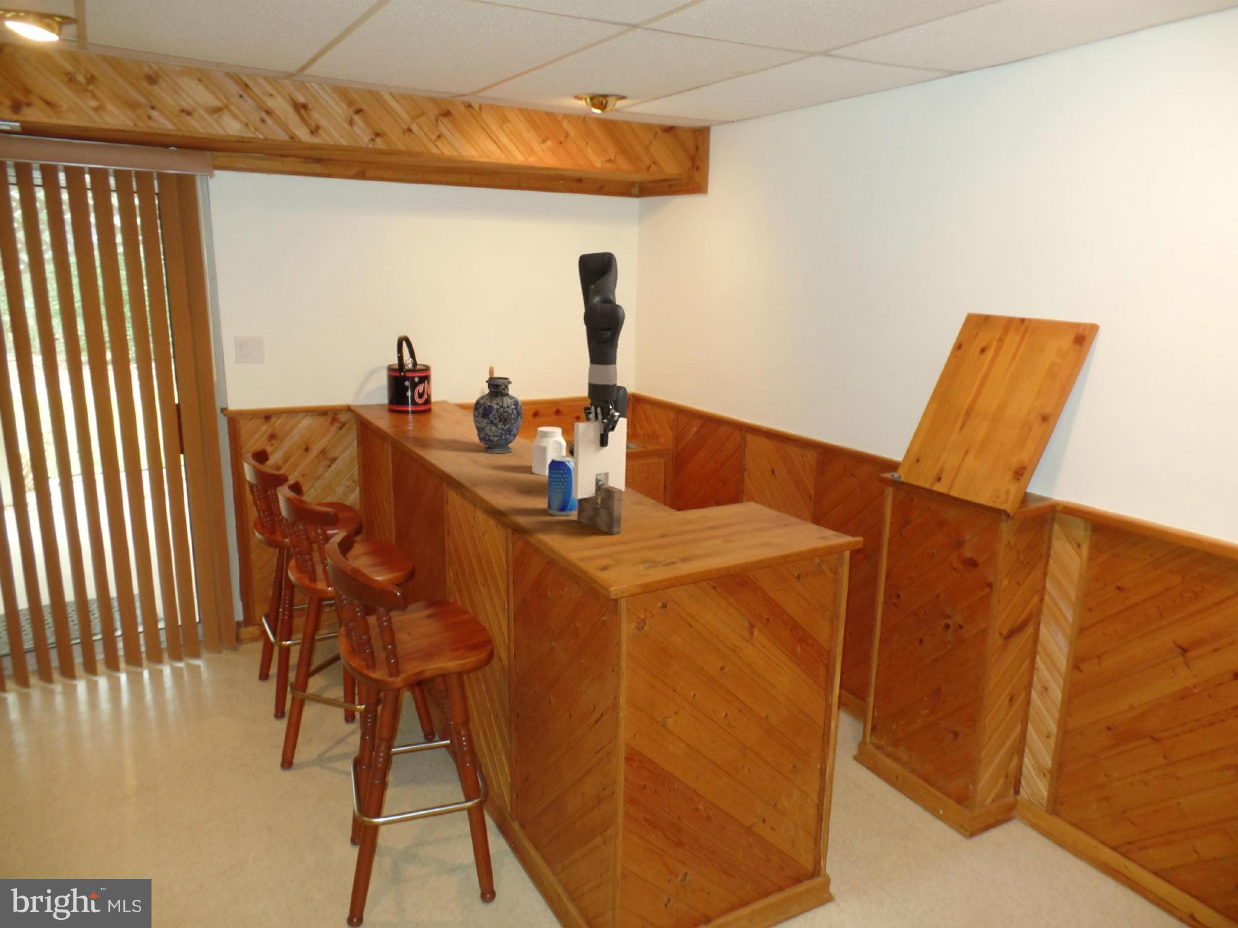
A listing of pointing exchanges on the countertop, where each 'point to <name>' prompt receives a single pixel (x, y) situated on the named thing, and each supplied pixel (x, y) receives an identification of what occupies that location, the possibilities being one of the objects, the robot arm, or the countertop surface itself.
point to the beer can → (561, 486)
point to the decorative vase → (497, 416)
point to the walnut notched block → (602, 509)
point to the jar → (547, 448)
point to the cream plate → (598, 457)
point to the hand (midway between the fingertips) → (600, 445)
